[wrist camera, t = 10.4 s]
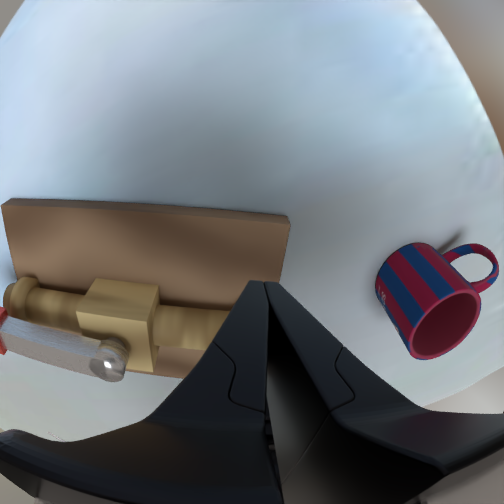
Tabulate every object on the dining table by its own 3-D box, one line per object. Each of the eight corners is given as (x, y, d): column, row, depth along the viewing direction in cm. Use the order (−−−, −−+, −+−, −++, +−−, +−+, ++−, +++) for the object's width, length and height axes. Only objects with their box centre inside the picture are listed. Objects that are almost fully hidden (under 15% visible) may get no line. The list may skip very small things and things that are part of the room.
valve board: (256, 371, 28) (260, 424, 23) (49, 343, 26) (27, 386, 21) (286, 216, 21) (305, 261, 15) (11, 198, 19) (-36, 231, 13)
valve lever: (128, 337, 18) (119, 363, 16) (131, 365, 19) (125, 390, 17) (-27, 297, 16) (-41, 314, 14) (-17, 324, 17) (-29, 341, 15)
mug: (363, 271, 24) (397, 327, 18) (456, 207, 21) (508, 244, 15) (388, 319, 26) (417, 372, 20) (470, 262, 24) (511, 303, 18)
